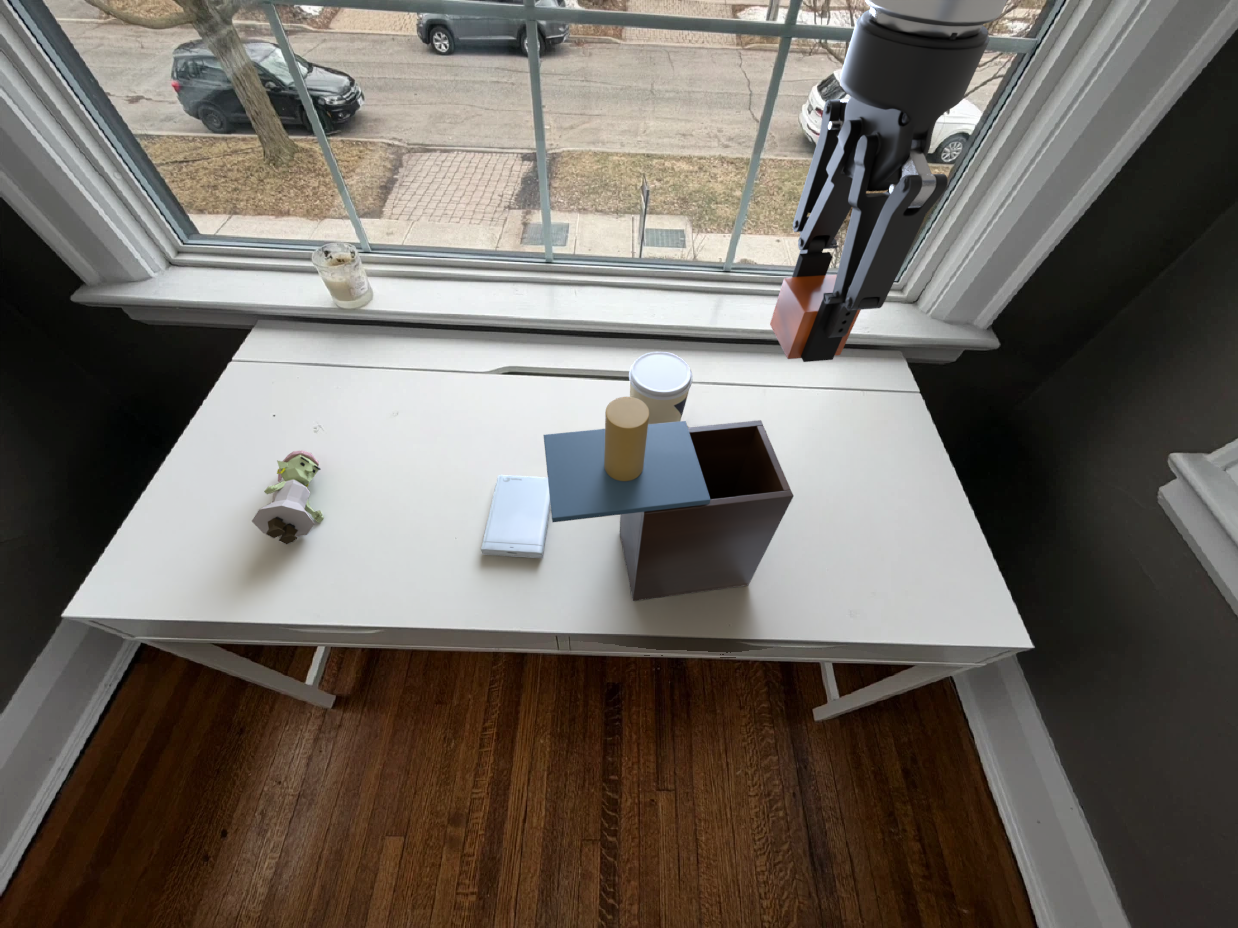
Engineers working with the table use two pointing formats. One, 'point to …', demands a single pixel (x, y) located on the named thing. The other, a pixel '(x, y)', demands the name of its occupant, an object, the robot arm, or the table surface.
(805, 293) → the block
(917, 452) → the table surface
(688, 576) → the box
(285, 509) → the figurine
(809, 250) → the robot arm
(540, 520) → the hard drive
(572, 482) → the sliding lid
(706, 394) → the table surface
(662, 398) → the coffee cup
